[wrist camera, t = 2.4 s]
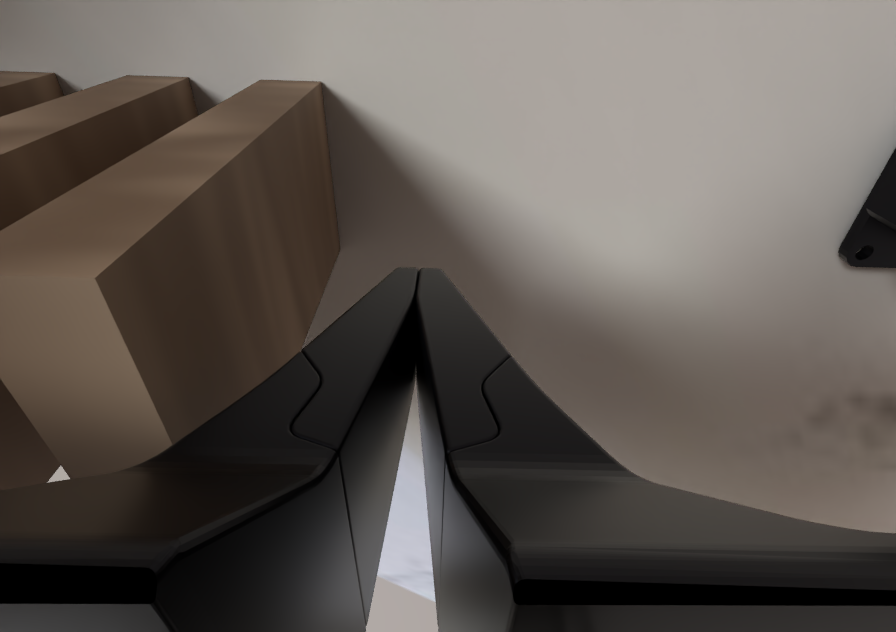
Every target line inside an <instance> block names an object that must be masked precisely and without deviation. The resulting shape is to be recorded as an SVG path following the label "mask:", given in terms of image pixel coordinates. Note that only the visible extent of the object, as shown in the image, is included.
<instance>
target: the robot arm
mask: <svg viewBox="0 0 896 632" xmlns="http://www.w3.org/2000/svg"><path fill="white" fill-rule="evenodd" d="M862 247H863V249H862V250H861V251H859V252H857V251H858V250H859V249H860V248H862ZM856 252H857V253H856ZM838 253H839V257H840V258H841V259H843V260H844V261H845V262H847V263H848V264H849V265H851V266H855V267H880V268H896V149H895V150H894V152H893V154H892V156H891V157H890V159H889V161H888V163H887V164H886V166H885V168H884V170H883V172H882V173H881V175H880V177H879V179H878V180H877V182H876V184H875V186H874V187H873V189H872V191H871V193H870V195H869V196H868V198H867V200H866V202H865V203H864V205H863V207H862V209H861V210H860V212H859V214H858V216H857V218H856V219H855V221H854V223H853V225H852V226H851V228H850V230H849V232H848V233H847V235H846V237H845V239H844V241H843V242H842V244H841V246H840V248H839V251H838ZM415 377H416V381H417V396H418V407H419V418H420V430H421V441H422V452H423V463H424V475H425V486H426V497H427V509H428V520H429V531H430V542H431V554H432V565H433V576H434V588H435V599H436V610H437V620H438V627H439V629H438V632H896V533H879V532H868V531H861V530H854V529H847V528H841V527H835V526H829V525H824V524H818V523H814V522H809V521H804V520H799V519H795V518H791V517H787V516H783V515H779V514H775V513H771V512H767V511H763V510H759V509H755V508H751V507H747V506H743V505H739V504H735V503H731V502H727V501H723V500H719V499H715V498H711V497H707V496H703V495H699V494H695V493H691V492H687V491H683V490H680V489H676V488H672V487H668V486H664V485H660V484H656V483H653V482H650V481H648V480H646V479H643V478H641V477H639V476H637V475H636V474H634V473H632V472H631V471H629V470H628V469H626V468H625V467H624V466H622V465H621V464H620V463H619V462H617V461H616V460H615V459H614V458H613V457H612V456H610V455H609V454H608V453H607V452H606V451H605V450H604V449H603V448H602V447H601V446H600V445H599V444H598V443H597V442H595V441H594V440H593V439H592V438H591V437H590V436H589V435H588V434H587V433H586V432H585V431H584V430H583V429H582V428H581V427H579V426H578V425H577V424H576V423H575V422H574V421H573V420H572V419H571V418H570V417H569V416H568V415H567V414H566V413H565V412H563V411H562V410H561V409H560V408H559V407H558V406H557V405H556V404H555V403H554V402H553V401H552V400H551V399H550V398H549V397H548V396H547V395H546V394H545V393H544V392H543V391H542V390H541V389H540V388H539V387H538V386H537V385H536V384H535V382H534V381H533V380H532V379H531V378H530V377H529V376H528V374H527V373H526V372H525V371H524V370H523V369H522V368H521V366H520V365H519V364H518V363H517V361H516V360H515V359H514V358H513V357H512V356H511V354H510V353H509V352H508V351H507V349H506V348H505V347H504V346H503V344H502V343H501V342H500V341H499V339H498V338H497V337H496V336H495V335H494V333H493V332H492V331H491V330H490V328H489V327H488V326H487V325H486V324H485V322H484V321H483V320H482V319H481V317H480V316H479V315H478V314H477V312H476V311H475V310H474V309H473V308H472V306H471V305H470V304H469V303H468V301H467V300H466V299H465V298H464V297H463V295H462V294H461V293H460V292H459V290H458V289H457V288H456V287H455V285H454V284H453V283H452V282H451V281H450V279H449V278H448V277H447V276H446V274H445V273H444V272H443V271H442V270H441V269H438V268H422V269H420V271H419V270H418V269H417V268H401V267H400V268H397V269H395V270H394V271H393V272H392V273H391V274H389V275H388V276H387V277H386V278H385V279H384V280H382V281H381V282H380V283H379V284H378V285H377V286H375V287H374V288H373V289H372V290H371V291H370V292H368V293H367V294H366V295H365V296H364V297H363V298H361V299H360V300H359V301H358V302H357V303H356V304H354V305H353V306H352V307H351V308H350V309H349V310H347V311H346V312H345V313H344V314H343V315H342V316H340V317H339V318H338V319H337V320H336V321H335V322H333V323H332V324H331V325H330V326H329V327H328V328H327V329H325V330H324V331H323V332H322V333H321V334H320V335H318V336H317V337H316V338H315V339H314V340H313V341H311V342H310V343H309V344H308V345H307V346H306V347H304V348H303V349H302V350H301V352H298V353H297V354H296V355H295V356H294V357H292V358H291V359H290V360H289V361H288V362H287V363H285V364H284V365H283V366H282V367H281V368H279V369H278V370H277V371H276V372H274V373H273V374H272V375H271V376H269V377H268V378H267V379H266V380H264V381H263V382H262V383H260V384H259V385H258V386H256V387H255V388H253V389H252V390H251V391H249V392H248V393H247V394H245V395H244V396H242V397H241V398H240V399H238V400H237V401H235V402H234V403H233V404H231V405H230V406H228V407H227V408H225V409H224V410H222V411H221V412H220V413H218V414H217V415H215V416H214V417H212V418H211V419H209V420H208V421H206V422H205V423H204V424H202V425H201V426H199V427H198V428H196V429H195V430H193V431H192V432H191V433H189V434H188V435H186V436H185V437H183V438H182V439H180V440H179V441H178V442H176V443H175V444H173V445H172V446H170V447H169V448H167V449H166V450H164V451H162V452H161V453H159V454H158V455H156V456H154V457H152V458H150V459H148V460H146V461H144V462H142V463H140V464H137V465H135V466H132V467H129V468H126V469H123V470H119V471H116V472H112V473H107V474H100V475H94V476H88V477H81V478H75V479H69V480H62V481H56V482H50V483H43V484H37V485H31V486H24V487H18V488H12V489H5V490H0V632H366V625H367V622H368V617H369V612H370V606H371V602H372V597H373V592H374V587H375V582H376V577H377V572H378V567H379V562H380V557H381V552H382V546H383V541H384V536H385V531H386V526H387V521H388V516H389V511H390V506H391V501H392V496H393V491H394V486H395V481H396V476H397V471H398V466H399V461H400V456H401V451H402V446H403V441H404V436H405V430H406V425H407V420H408V415H409V410H410V405H411V400H412V395H413V390H414V384H415Z"/></svg>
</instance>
